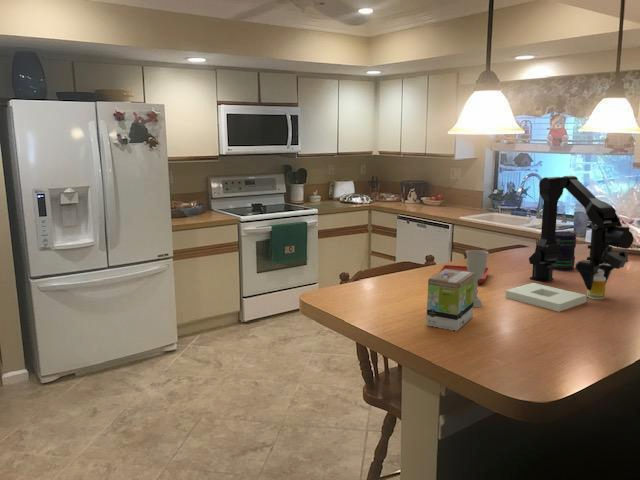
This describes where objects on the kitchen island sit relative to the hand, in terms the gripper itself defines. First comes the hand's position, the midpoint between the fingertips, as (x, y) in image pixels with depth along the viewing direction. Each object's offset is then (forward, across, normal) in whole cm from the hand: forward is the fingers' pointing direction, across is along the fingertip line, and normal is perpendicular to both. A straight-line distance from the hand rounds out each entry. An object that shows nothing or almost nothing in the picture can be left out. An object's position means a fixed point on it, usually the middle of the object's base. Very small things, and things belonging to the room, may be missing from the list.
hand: (596, 287), depth 185 cm
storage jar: (+4, +29, +30) cm, 42 cm away
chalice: (+4, -39, +20) cm, 44 cm away
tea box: (+4, -58, +14) cm, 60 cm away
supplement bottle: (+4, 0, 0) cm, 4 cm away
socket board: (+4, -16, +9) cm, 19 cm away
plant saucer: (+4, -15, +45) cm, 48 cm away
